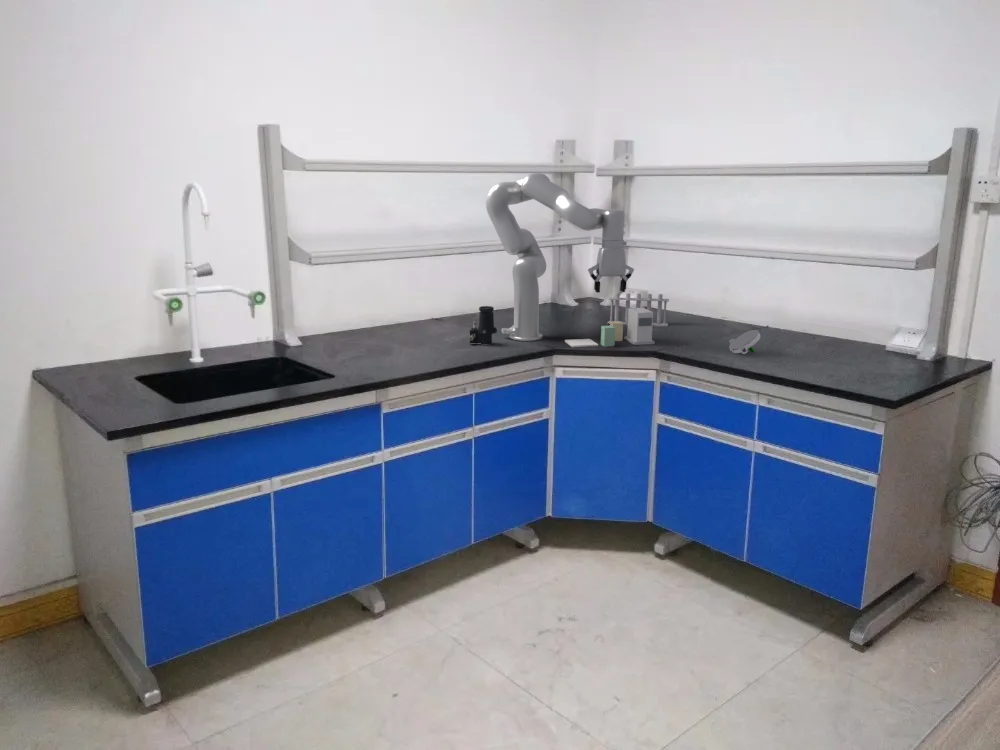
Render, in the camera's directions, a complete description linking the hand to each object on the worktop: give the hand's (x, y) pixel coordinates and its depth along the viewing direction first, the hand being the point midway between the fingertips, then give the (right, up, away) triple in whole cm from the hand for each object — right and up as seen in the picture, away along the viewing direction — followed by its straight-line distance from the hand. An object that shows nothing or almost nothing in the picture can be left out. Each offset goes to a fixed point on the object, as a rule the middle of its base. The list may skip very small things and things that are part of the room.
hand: (609, 291), depth 283 cm
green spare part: (0, -19, +5) cm, 20 cm away
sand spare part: (+4, -17, +14) cm, 22 cm away
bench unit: (+13, -18, +11) cm, 25 cm away
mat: (-10, -19, +7) cm, 22 cm away
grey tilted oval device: (+47, -23, -6) cm, 53 cm away
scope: (-46, -19, +7) cm, 51 cm away
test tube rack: (+18, -9, +44) cm, 48 cm away
